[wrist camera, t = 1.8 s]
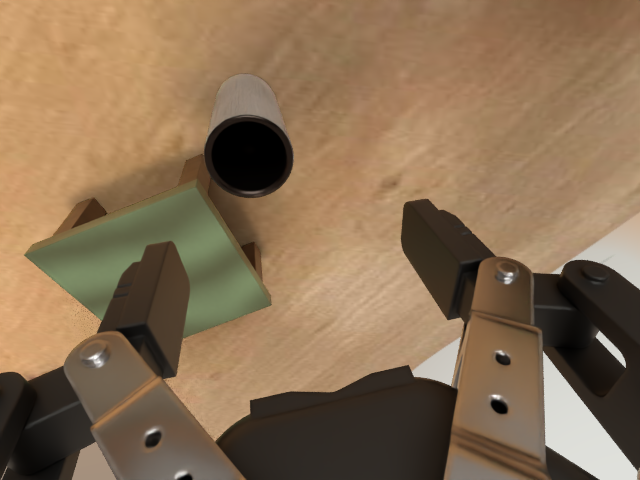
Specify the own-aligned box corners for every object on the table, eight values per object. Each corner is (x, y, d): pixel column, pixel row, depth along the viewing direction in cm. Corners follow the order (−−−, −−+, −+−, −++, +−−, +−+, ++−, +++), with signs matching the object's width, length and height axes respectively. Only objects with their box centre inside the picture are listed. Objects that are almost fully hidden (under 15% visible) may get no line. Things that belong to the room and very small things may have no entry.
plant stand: (67, 201, 27) (23, 255, 22) (205, 146, 27) (195, 186, 21) (157, 296, 35) (141, 354, 29) (266, 254, 34) (271, 305, 28)
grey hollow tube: (276, 73, 25) (294, 114, 16) (278, 135, 27) (294, 196, 19) (211, 72, 24) (196, 115, 16) (219, 136, 27) (210, 201, 18)
